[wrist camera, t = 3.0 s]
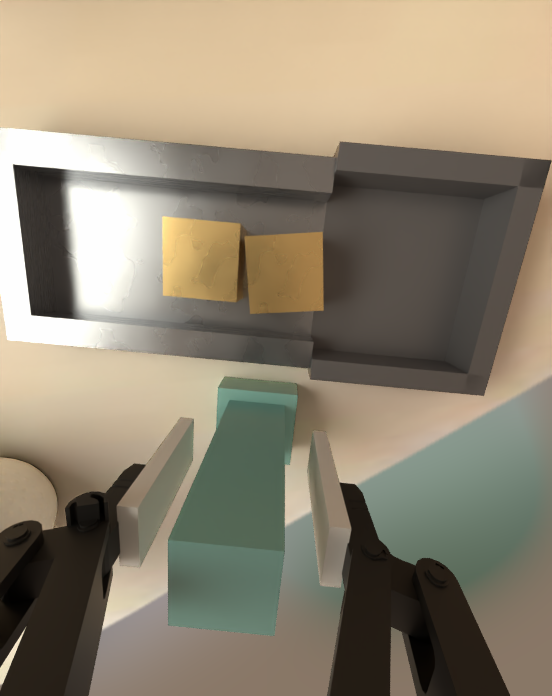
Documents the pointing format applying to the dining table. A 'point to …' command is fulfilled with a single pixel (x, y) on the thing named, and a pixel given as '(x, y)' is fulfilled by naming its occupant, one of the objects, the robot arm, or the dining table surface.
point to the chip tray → (421, 265)
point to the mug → (25, 495)
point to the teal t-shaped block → (235, 515)
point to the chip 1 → (203, 259)
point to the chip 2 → (285, 272)
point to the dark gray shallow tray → (144, 242)
